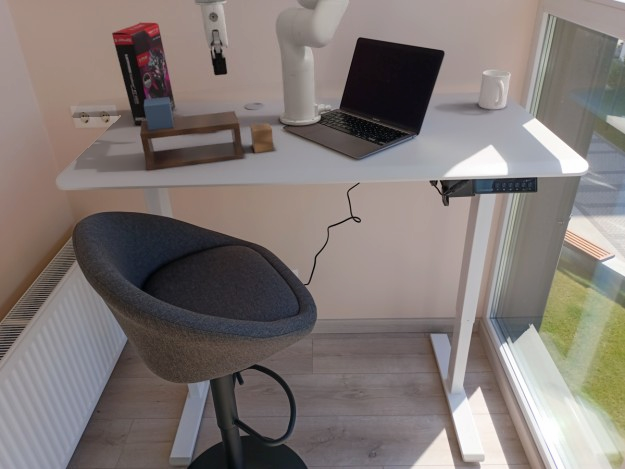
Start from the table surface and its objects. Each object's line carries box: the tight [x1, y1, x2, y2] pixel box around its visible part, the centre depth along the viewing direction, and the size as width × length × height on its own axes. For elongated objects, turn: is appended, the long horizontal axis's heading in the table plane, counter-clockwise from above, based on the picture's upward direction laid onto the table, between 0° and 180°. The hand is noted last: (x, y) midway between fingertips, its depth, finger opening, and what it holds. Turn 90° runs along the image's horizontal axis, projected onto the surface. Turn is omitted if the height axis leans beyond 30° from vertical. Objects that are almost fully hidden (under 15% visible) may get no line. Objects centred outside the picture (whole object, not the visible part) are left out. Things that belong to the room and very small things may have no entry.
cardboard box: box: [249, 122, 274, 154], centre depth 135 cm, size 5×5×6 cm
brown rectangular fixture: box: [139, 110, 244, 171], centre depth 131 cm, size 24×10×10 cm, turn 104°
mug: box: [478, 69, 512, 111], centre depth 157 cm, size 12×8×10 cm
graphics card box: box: [111, 21, 176, 126], centre depth 156 cm, size 17×7×27 cm, turn 168°
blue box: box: [144, 97, 174, 130], centre depth 126 cm, size 6×6×6 cm
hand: (219, 69), depth 129 cm, fingers open, 9 cm apart
